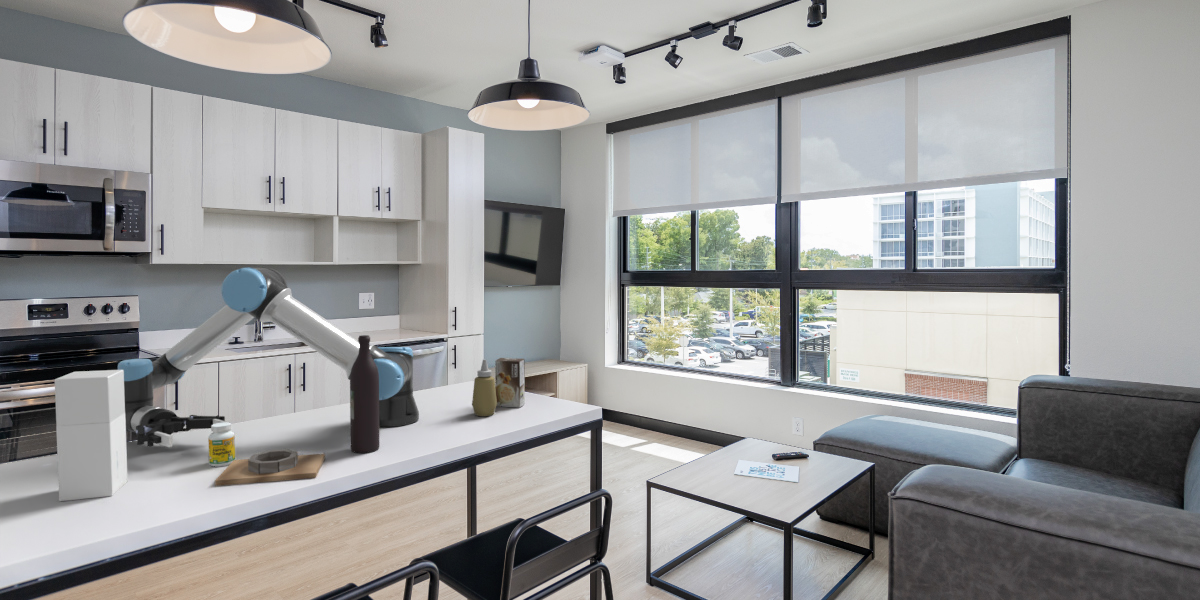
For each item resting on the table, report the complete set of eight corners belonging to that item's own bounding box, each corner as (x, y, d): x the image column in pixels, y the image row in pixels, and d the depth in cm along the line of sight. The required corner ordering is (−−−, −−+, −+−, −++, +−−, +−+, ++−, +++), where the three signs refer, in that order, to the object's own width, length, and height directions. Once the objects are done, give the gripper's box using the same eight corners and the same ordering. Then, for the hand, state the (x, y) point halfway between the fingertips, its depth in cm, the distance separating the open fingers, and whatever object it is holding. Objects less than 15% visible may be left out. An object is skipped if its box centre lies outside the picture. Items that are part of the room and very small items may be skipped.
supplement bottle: (234, 458, 148) (234, 420, 147) (235, 464, 143) (235, 425, 143) (209, 462, 145) (208, 423, 144) (209, 468, 140) (208, 428, 140)
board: (324, 458, 149) (324, 444, 149) (315, 477, 136) (315, 462, 135) (234, 464, 143) (233, 450, 143) (215, 486, 130) (214, 469, 129)
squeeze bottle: (494, 417, 190) (494, 362, 189) (469, 417, 190) (469, 361, 189) (499, 411, 198) (499, 357, 197) (474, 411, 198) (475, 357, 197)
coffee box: (525, 403, 210) (525, 358, 209) (520, 407, 203) (520, 361, 202) (500, 402, 211) (500, 357, 210) (494, 406, 205) (494, 360, 204)
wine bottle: (366, 443, 161) (365, 333, 159) (385, 447, 158) (384, 335, 156) (344, 451, 155) (343, 336, 153) (364, 455, 152) (363, 338, 150)
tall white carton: (112, 496, 123) (108, 376, 122) (58, 501, 120) (53, 379, 118) (128, 481, 131) (124, 369, 130) (78, 486, 128) (73, 371, 127)
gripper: (205, 425, 169) (251, 436, 159) (98, 448, 147) (143, 463, 137) (205, 399, 168) (250, 408, 158) (97, 418, 146) (142, 431, 136)
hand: (201, 434), depth 147 cm, fingers open, 13 cm apart
